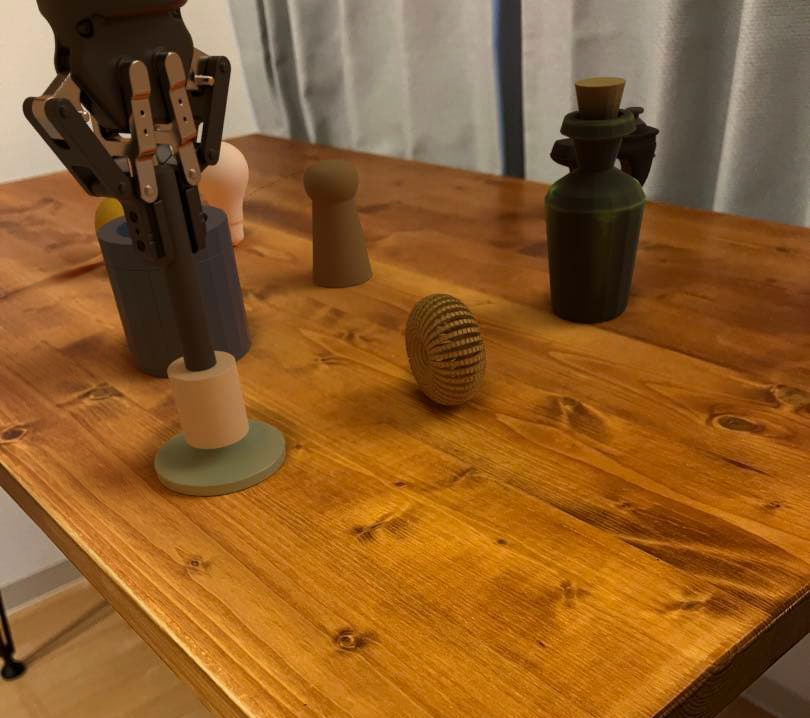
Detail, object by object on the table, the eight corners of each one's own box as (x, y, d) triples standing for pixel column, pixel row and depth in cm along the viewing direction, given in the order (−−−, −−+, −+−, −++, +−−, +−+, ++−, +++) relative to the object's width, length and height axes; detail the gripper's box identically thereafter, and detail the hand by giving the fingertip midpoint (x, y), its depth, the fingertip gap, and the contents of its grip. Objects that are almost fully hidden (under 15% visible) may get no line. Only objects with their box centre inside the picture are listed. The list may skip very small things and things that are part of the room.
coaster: (129, 477, 60) (126, 467, 59) (217, 418, 66) (215, 409, 65) (228, 509, 56) (225, 499, 55) (312, 443, 62) (310, 433, 61)
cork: (383, 269, 89) (372, 155, 83) (351, 290, 85) (337, 171, 79) (334, 263, 92) (320, 152, 85) (301, 283, 88) (283, 168, 81)
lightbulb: (224, 258, 96) (203, 151, 89) (197, 247, 100) (175, 144, 93) (271, 243, 99) (254, 139, 92) (243, 233, 103) (225, 132, 96)
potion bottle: (651, 299, 78) (671, 72, 67) (613, 333, 72) (629, 94, 62) (567, 286, 82) (574, 70, 71) (526, 318, 76) (527, 90, 66)
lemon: (140, 278, 93) (120, 200, 88) (97, 276, 94) (74, 199, 90) (168, 260, 97) (149, 185, 92) (125, 258, 99) (105, 184, 94)
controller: (658, 203, 100) (667, 107, 94) (562, 222, 97) (564, 125, 91) (638, 194, 103) (645, 101, 97) (544, 212, 100) (545, 118, 94)
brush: (219, 454, 57) (155, 182, 47) (170, 440, 59) (99, 176, 49) (262, 424, 60) (210, 161, 50) (214, 412, 62) (155, 157, 52)
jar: (108, 365, 75) (69, 236, 69) (189, 321, 82) (161, 200, 75) (195, 386, 70) (162, 250, 64) (274, 338, 77) (252, 210, 71)
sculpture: (496, 415, 63) (495, 308, 58) (446, 430, 62) (440, 322, 57) (447, 373, 69) (442, 273, 64) (400, 386, 68) (392, 285, 63)
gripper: (140, -102, 48) (206, 218, 59) (-83, -85, 39) (41, 289, 50) (243, -113, 45) (294, 229, 55) (24, -98, 36) (135, 308, 46)
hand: (174, 256), depth 52 cm, fingers closed on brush, 2 cm apart
